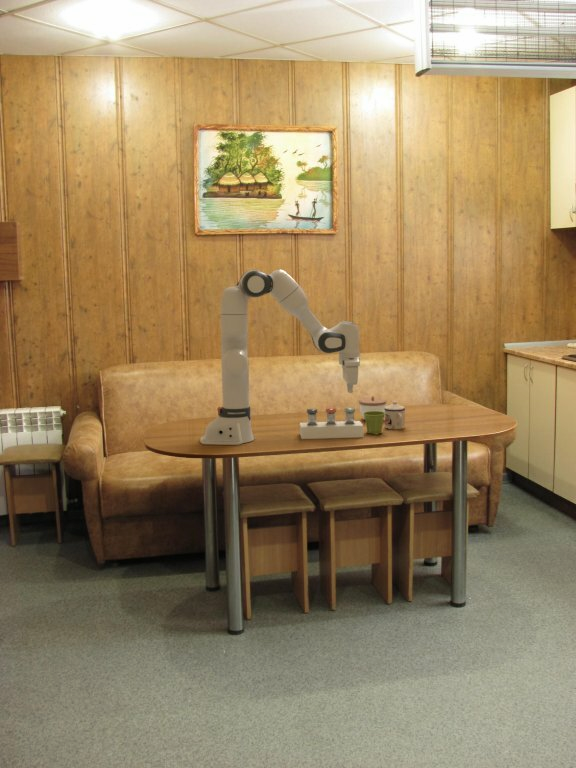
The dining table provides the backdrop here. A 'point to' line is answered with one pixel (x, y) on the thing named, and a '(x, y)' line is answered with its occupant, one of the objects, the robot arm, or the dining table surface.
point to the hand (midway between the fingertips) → (350, 392)
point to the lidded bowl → (372, 405)
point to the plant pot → (374, 421)
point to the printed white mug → (394, 416)
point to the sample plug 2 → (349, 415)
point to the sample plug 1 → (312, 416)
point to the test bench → (331, 430)
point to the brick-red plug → (330, 415)
